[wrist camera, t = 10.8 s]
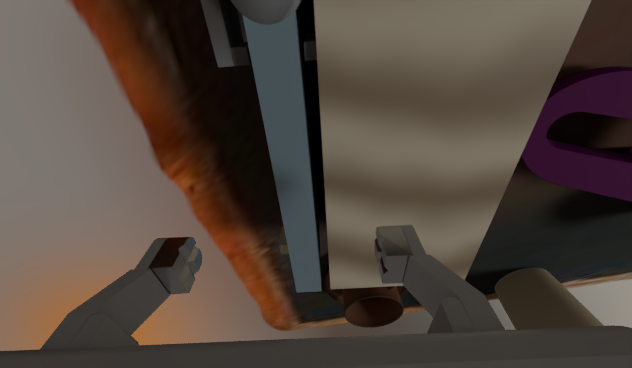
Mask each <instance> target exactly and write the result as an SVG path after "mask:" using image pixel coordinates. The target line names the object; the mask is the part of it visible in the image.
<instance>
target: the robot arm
mask: <svg viewBox="0 0 632 368" xmlns="http://www.w3.org/2000/svg"><path fill="white" fill-rule="evenodd" d="M375 233H376V237H377V238H376V239H375V242H374V249H375V256H376V261H377V262H378V263H379V273H380V277H381V280H382V284H390V283H403V285H404V286H405V288H406V289H407V290H408V291H409V292H410V293H411V294H412V295H413V296H414V297H415V298H416V299H417V301H418V302H419V303H420V304H421V305H422V306H423V307H424V308H425V309H426V310H427V311H428V312H429V314H430V315H431V316H432V317H433V320H432V323H431V325H430V327H429V330H428V332H427V334H405V335H381V336H380V335H379V336H356V337H331V338H309V339H308V338H307V339H282V340H260V341H236V342H211V343H188V344H165V345H164V344H163V345H140V346H139V344H138V342H137V341H136V340H135V339H134V338H133V337H132V336H131V335H132V334H133V332H134V331H135V330H136V329H137V328H138V327H139V326H140V325H141V324H142V323H143V322H144V321H145V320H146V319H147V318H148V317H149V316H150V315H151V314H152V313H153V312H154V311H155V310H156V309H157V308H158V307H159V306H160V305H161V304H162V303H163V302H164V301H165V300H166V299H167V298H168V297H169V296H170V295H169V294H180V293H189V292H190V290H191V287H192V285H193V283H194V281H195V277H194V274H195V273H196V272H197V271H198V270H199V269H200V266H201V263H202V255H201V251H200V249H198V248H197V247H195V244H196V242H195V240H194V238H193V237H179V238H178V237H177V238H157V239H156V240H154V241H153V243H152V244H151V246H150V248H149V249H148V250H147V252H146V253H145V255H144V256H143V258H142V259H141V261H140V262H139V264H138V265H137V266H136V268H135V269H134V270H130V271H129V272H127V273H126V274H124V275H123V276H121V277H120V278H119V279H117V280H116V281H114V282H113V283H111V284H110V285H108V286H107V287H106V288H104V289H103V290H101V291H100V292H99V293H97V294H96V295H94V296H93V297H91V298H90V299H89V300H87V301H86V302H84V303H83V304H81V305H80V306H78V307H77V308H76V309H74V310H73V311H71V312H70V313H69V314H68V315H67V316H66V317H65V318H64V320H63V321H62V322H61V324H60V325H59V326H58V327H57V329H56V330H55V331H54V332H53V334H52V335H51V336H50V338H49V339H48V340H47V341H46V342H45V344H44V345H43V346H42V348H41V349H40V350H21V351H20V350H19V351H0V368H632V328H629V327H624V326H593V327H569V328H545V329H521V330H505V329H504V327H503V326H502V324H501V322H500V321H499V319H498V317H497V315H496V314H495V312H494V310H493V309H492V307H491V305H490V303H489V302H488V300H487V298H486V297H485V295H484V294H482V293H481V292H480V291H478V290H477V289H476V288H474V287H473V286H472V285H470V284H469V283H468V282H466V281H465V280H464V279H462V278H461V277H460V276H458V275H457V274H456V273H454V272H453V271H452V270H450V269H449V268H447V267H446V266H445V265H443V264H442V263H441V262H439V261H438V260H437V259H435V258H434V257H433V256H431V255H427V254H426V252H425V250H424V248H423V246H422V244H421V242H420V239H419V237H418V235H417V233H416V231H415V229H414V226H413V225H400V226H399V225H397V226H381V227H377V228H376V232H375Z"/></svg>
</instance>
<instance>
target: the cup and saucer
mask: <svg viewBox="0 0 632 368" xmlns="http://www.w3.org/2000/svg"><path fill="white" fill-rule="evenodd" d="M325 289H326V291H327V293H328V294H329V295H330V296H331V297H332V298H333V299H335V300H337V301H339V302H341V303H344V314H345V318H346V319H347V321H348V322H350V323H351V324H353V325H356V326H360V327H380V326H384V325H387V324H390V323H392V322H394V321H396V320H397V319H398V318H400V316H401V315H402V314H403V311H404V308H403V305H402V301H401V298H400V295H401V294H402V293H403V292H404V291H405V290H406V288H405V286H387V287H368V288H348V289H330V274H329V270H328V272H327V274H326V277H325Z"/></svg>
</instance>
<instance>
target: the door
mask: <svg viewBox="0 0 632 368" xmlns="http://www.w3.org/2000/svg"><path fill="white" fill-rule="evenodd" d="M231 1H232V3H233V5H234V6H235V7H236V8H237V10H238V11H239V12H240V13H241V14H242V16H243V21H244V26H245V31H246V36H247V41H248V46H249V51H250V56H251V61H252V67H253V72H254V77H255V82H256V87H257V92H258V97H259V102H260V107H261V112H262V118H263V123H264V128H265V133H266V138H267V143H268V148H269V153H270V158H271V163H272V169H273V174H274V179H275V184H276V189H277V194H278V199H279V204H280V209H281V215H282V220H283V225H284V227H282V229H281V237H280V244H279V246H280V251H281V254H289V255H290V260H291V266H292V271H293V276H294V281H295V286H296V291H297V292H315V291H321V264H320V234H319V213H318V201H317V189H316V177H315V164H314V152H313V140H312V128H311V116H310V104H309V92H308V80H307V68H306V61H305V53H304V32H303V19H302V9H303V8H304V6H305V3H306V0H231Z"/></svg>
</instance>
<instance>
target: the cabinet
mask: <svg viewBox="0 0 632 368" xmlns="http://www.w3.org/2000/svg"><path fill="white" fill-rule="evenodd" d="M200 1H201V4H202V8H203V12H204V16H205V19H206V23H207V27H208V31H209V34H210V38H211V42H212V46H213V49H214V53H215V57H216V61H217V64H218V67H230V66H243V65H250V64H251V63H252V61H251V56H250V51H249V46H248V41H247V36H246V31H245V26H244V21H243V16H242V14H241V13H240V12H239V11H238V10H237V8H236V7H235V6H234V5H233V3H232V1H231V0H200ZM590 2H591V0H313V11H314V28H315V30H312V31H307V32H306V37H305V39H304V53H305V61H309V60H316V62H317V78H318V95H319V112H320V129H321V145H322V162H323V179H324V195H325V212H326V228H327V243H328V258H329V274H330V289H348V288H368V287H387V286H404V285H403V283H390V284H382V280H381V277H380V273H379V263H378V262H377V261H376V256H375V249H374V242H375V239H376V238H377V237H376V233H375V232H376V228H377V227H381V226H397V225H399V226H400V225H413V226H414V229H415V231H416V233H417V235H418V237H419V239H420V242H421V244H422V246H423V248H424V250H425V252H426V254H427V255H431V256H433V257H434V258H435V259H437V260H438V261H439V262H441V263H442V264H443V265H445V266H446V267H447V268H449V269H450V270H452V271H453V272H454V273H456V274H457V275H458V276H460V277H461V278H462V279H464V280H465V278H466V276H467V273H468V271H469V269H470V267H471V265H472V262H473V260H474V258H475V256H476V254H477V251H478V249H479V247H480V245H481V243H482V240H483V238H484V236H485V234H486V232H487V229H488V227H489V225H490V223H491V221H492V218H493V216H494V214H495V212H496V210H497V207H498V205H499V203H500V201H501V198H502V196H503V194H504V192H505V190H506V187H507V185H508V183H509V181H510V179H511V176H512V174H513V172H514V170H515V168H516V165H517V163H518V161H519V159H520V157H521V154H522V152H523V150H524V148H525V146H526V143H527V141H528V139H529V137H530V135H531V132H532V130H533V128H534V126H535V124H536V121H537V119H538V117H539V115H540V113H541V110H542V108H543V106H544V104H545V101H546V99H547V97H548V95H549V93H550V90H551V88H552V86H553V84H554V82H555V79H556V77H557V75H558V73H559V71H560V68H561V66H562V64H563V62H564V60H565V57H566V55H567V53H568V51H569V49H570V46H571V44H572V42H573V40H574V38H575V35H576V33H577V31H578V29H579V27H580V24H581V22H582V20H583V18H584V16H585V13H586V11H587V9H588V7H589V4H590Z"/></svg>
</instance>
